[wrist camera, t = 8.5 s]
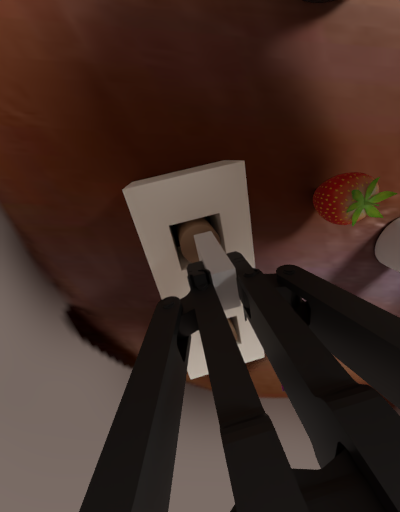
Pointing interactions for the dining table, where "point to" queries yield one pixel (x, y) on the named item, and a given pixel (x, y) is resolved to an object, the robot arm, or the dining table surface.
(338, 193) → the fruit
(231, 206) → the socket block
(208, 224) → the peg
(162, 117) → the dining table surface
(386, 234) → the pill bottle
